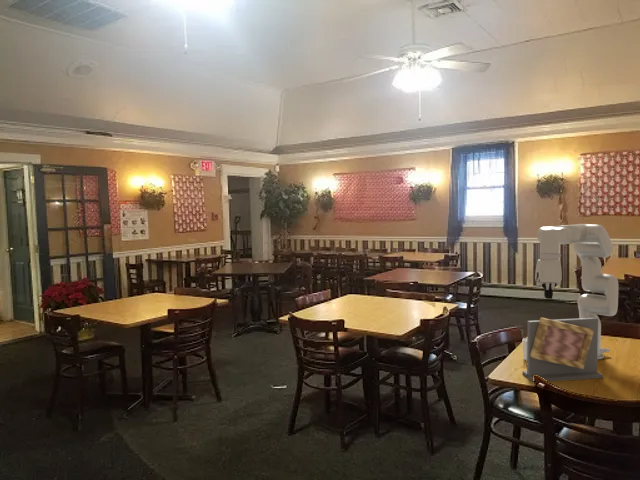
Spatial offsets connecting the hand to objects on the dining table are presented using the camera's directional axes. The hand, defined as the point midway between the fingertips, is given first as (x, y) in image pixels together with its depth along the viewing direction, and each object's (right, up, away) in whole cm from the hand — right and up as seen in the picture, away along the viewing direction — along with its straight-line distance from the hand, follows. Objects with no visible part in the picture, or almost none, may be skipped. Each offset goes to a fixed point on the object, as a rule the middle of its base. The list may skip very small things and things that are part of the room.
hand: (548, 298), depth 216 cm
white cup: (+5, -35, +30) cm, 46 cm away
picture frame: (+5, -29, +3) cm, 29 cm away
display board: (+9, -36, +7) cm, 38 cm away
